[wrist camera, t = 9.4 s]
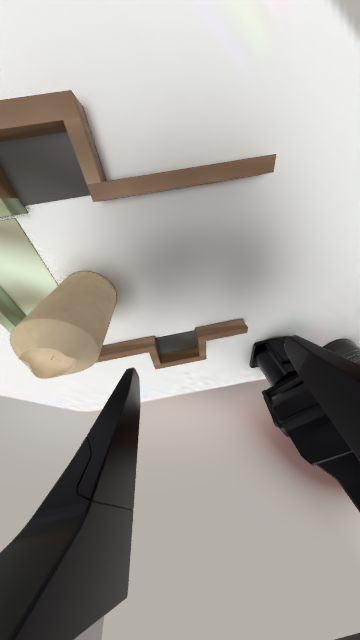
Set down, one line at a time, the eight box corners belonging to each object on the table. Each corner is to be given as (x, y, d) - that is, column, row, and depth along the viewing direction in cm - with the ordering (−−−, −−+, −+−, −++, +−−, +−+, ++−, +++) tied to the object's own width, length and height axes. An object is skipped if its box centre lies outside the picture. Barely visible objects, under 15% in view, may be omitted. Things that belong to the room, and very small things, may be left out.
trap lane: (238, 342, 27) (243, 351, 26) (71, 375, 26) (66, 387, 25) (272, 78, 11) (292, 59, 10) (-148, 139, 10) (-203, 128, 9)
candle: (102, 321, 21) (73, 396, 13) (55, 298, 18) (-18, 375, 10) (126, 290, 19) (109, 357, 11) (77, 259, 16) (7, 317, 8)
